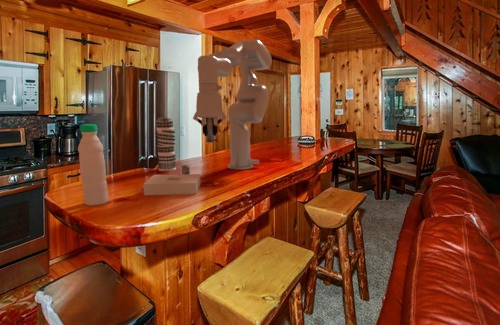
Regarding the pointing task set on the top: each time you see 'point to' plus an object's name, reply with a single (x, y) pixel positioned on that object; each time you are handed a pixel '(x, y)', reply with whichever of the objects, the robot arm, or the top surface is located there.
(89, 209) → the top surface
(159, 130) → the decorative candle
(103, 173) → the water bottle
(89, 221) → the top surface
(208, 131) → the long pin
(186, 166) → the short pin
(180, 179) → the hole board
